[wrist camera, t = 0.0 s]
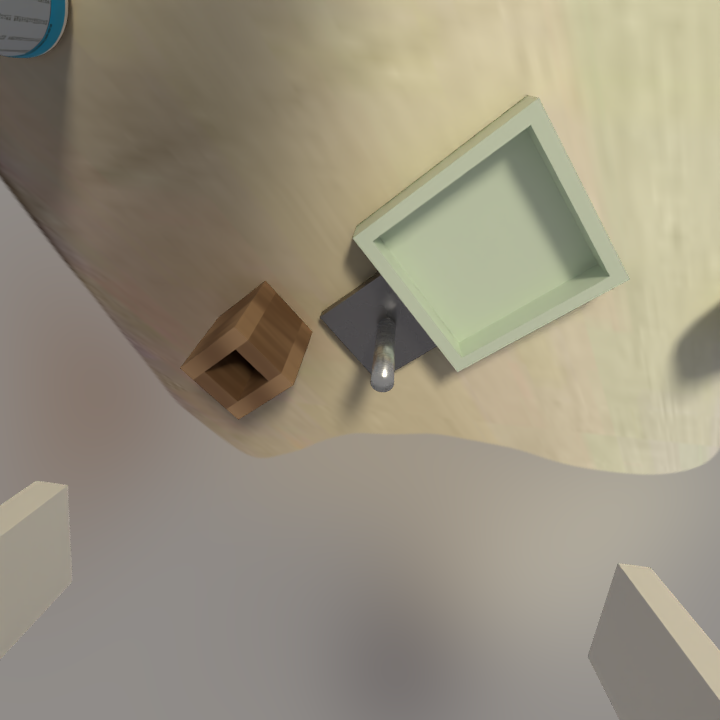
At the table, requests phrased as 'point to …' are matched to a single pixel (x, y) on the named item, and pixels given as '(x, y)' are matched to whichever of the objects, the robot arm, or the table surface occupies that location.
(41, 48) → the beverage bottle
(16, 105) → the table surface
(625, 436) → the table surface
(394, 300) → the pin
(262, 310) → the bore block
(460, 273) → the tray
